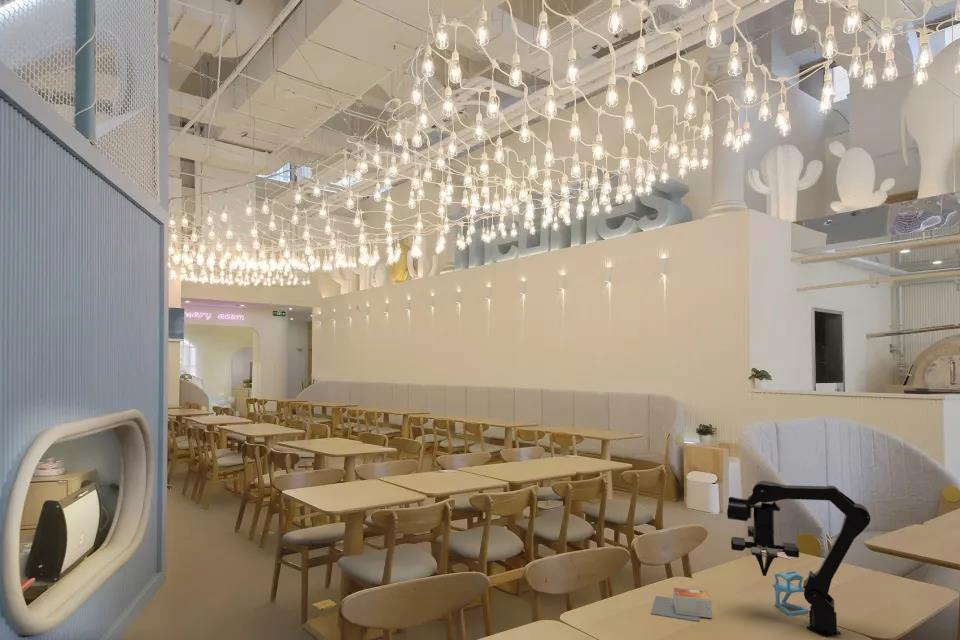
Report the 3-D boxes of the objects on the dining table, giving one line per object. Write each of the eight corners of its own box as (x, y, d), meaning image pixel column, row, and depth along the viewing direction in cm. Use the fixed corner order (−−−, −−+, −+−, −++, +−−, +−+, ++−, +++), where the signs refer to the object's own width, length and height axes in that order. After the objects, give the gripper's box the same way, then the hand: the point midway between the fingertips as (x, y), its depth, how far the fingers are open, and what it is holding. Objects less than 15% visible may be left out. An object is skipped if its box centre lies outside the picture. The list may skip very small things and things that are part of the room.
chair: (788, 603, 202) (787, 565, 203) (808, 613, 195) (808, 573, 195) (769, 605, 200) (768, 567, 201) (789, 615, 192) (789, 575, 193)
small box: (712, 599, 188) (675, 595, 190) (712, 618, 188) (675, 614, 190) (707, 590, 196) (673, 586, 198) (707, 608, 196) (673, 605, 198)
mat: (700, 603, 200) (700, 602, 201) (699, 621, 186) (699, 620, 186) (655, 596, 206) (655, 595, 206) (651, 614, 191) (651, 613, 191)
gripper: (794, 521, 195) (795, 572, 194) (730, 514, 202) (730, 564, 200) (798, 529, 185) (799, 583, 183) (731, 522, 191) (731, 574, 190)
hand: (764, 575), depth 190 cm, fingers closed
